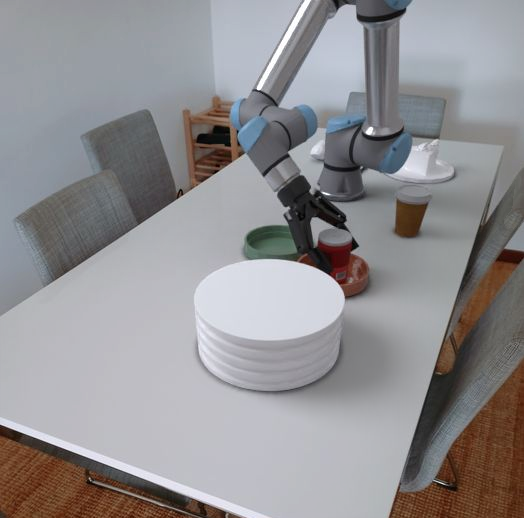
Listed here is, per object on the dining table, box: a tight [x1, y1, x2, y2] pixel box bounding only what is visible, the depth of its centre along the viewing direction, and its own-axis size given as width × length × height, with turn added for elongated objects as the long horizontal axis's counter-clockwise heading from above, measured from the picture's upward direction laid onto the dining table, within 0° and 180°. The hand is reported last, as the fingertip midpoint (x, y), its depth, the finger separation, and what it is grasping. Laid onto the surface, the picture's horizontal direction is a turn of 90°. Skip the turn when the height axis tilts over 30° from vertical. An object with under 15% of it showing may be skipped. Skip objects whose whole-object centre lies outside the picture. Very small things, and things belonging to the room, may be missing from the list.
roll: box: [309, 139, 325, 161], centre depth 188 cm, size 6×12×6 cm, turn 159°
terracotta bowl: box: [297, 252, 371, 298], centre depth 121 cm, size 17×17×3 cm
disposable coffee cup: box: [394, 183, 433, 238], centre depth 138 cm, size 10×10×12 cm
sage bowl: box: [243, 224, 307, 262], centre depth 132 cm, size 17×17×3 cm
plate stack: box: [193, 259, 346, 392], centre depth 98 cm, size 28×28×12 cm
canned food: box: [316, 228, 353, 284], centre depth 118 cm, size 8×8×11 cm
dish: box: [384, 138, 455, 184], centre depth 178 cm, size 25×25×11 cm
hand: (342, 261), depth 117 cm, fingers open, 13 cm apart
